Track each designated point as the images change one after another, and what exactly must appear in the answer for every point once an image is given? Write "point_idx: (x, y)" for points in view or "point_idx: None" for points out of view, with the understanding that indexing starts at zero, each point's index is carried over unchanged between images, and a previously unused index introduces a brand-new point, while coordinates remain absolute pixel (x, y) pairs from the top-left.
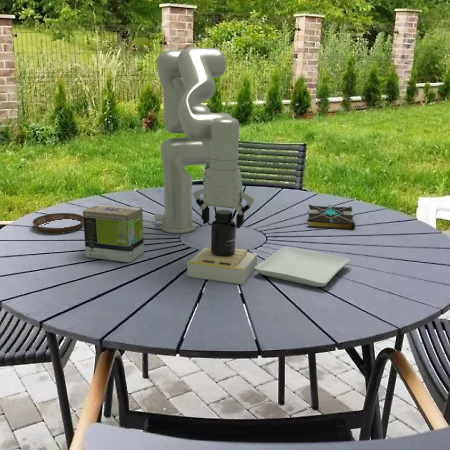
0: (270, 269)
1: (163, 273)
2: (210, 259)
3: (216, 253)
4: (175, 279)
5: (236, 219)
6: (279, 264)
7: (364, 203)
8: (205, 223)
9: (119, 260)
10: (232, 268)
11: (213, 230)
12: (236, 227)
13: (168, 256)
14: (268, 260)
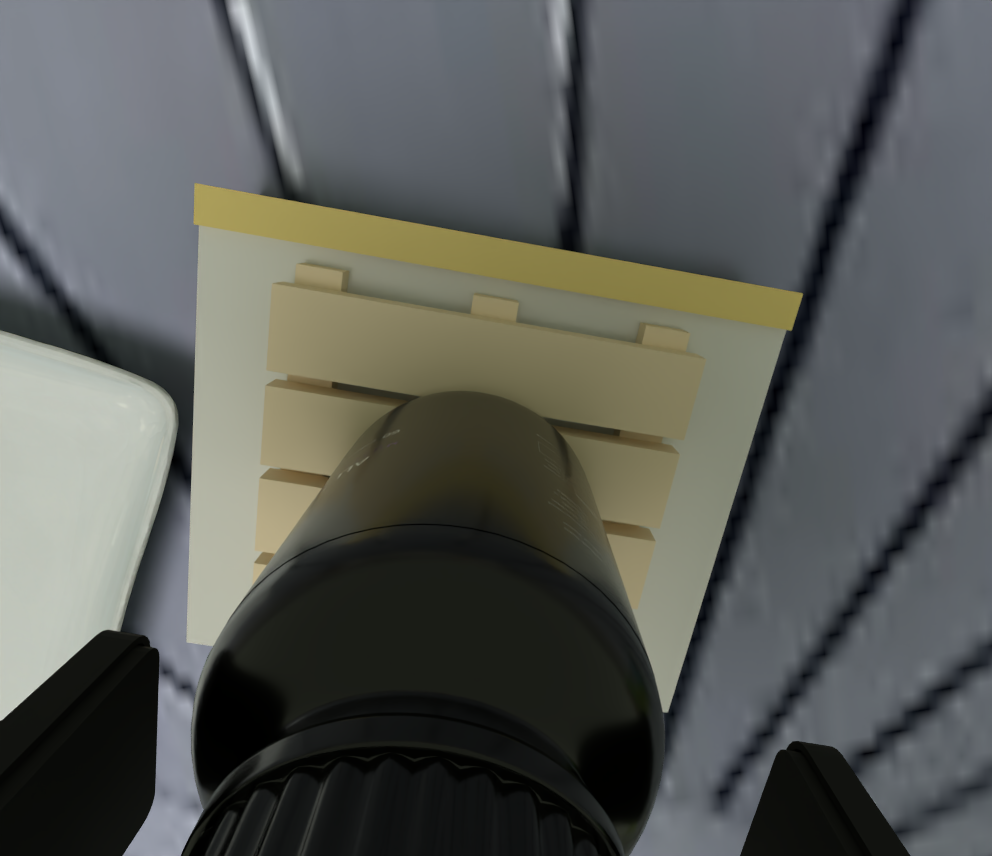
0: (98, 502)
1: (945, 312)
2: (566, 333)
3: (513, 405)
4: (833, 198)
5: (16, 785)
6: (63, 612)
7: None
8: (786, 751)
9: None
10: (311, 205)
11: (592, 562)
12: (145, 649)
13: (925, 655)
14: (113, 601)
